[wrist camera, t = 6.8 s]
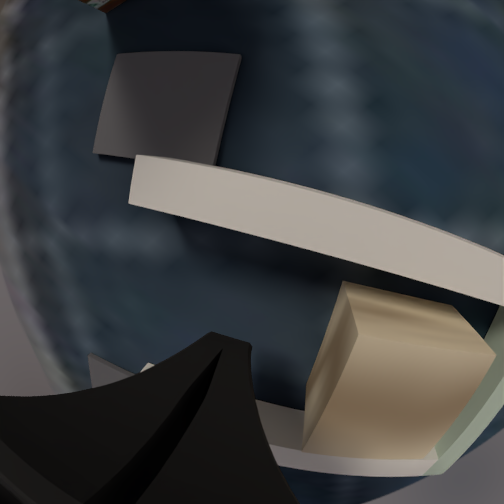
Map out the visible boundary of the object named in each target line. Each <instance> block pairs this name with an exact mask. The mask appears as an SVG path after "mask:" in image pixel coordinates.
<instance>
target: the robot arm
mask: <svg viewBox="0 0 504 504" xmlns="http://www.w3.org/2000/svg"><path fill="white" fill-rule="evenodd" d="M251 350H252V346H251V344H250V343H248V342H245V341H241V340H238V339H234V338H231V337H228V336H225V335H221V334H218V333H215V332H209V333H207V334H206V335H205V336H203V337H202V338H200V339H199V340H197V341H196V342H194V343H193V344H191V345H190V346H188V347H187V348H185V349H183V350H182V351H180V352H178V353H177V354H175V355H173V356H171V357H170V358H168V359H166V360H164V361H162V362H160V363H158V364H156V365H154V366H152V367H150V368H148V369H146V370H144V371H142V372H140V373H137V374H135V375H132V376H130V377H127V378H125V379H122V380H119V381H116V382H113V383H110V384H107V385H103V386H99V387H95V388H91V389H86V390H82V391H78V392H72V393H65V394H58V395H48V396H32V397H20V396H16V397H15V396H0V504H300V503H299V502H298V500H297V498H296V497H295V495H294V494H293V492H292V490H291V489H290V487H289V485H288V483H287V481H286V479H285V477H284V476H283V474H282V472H281V470H280V468H279V466H278V464H277V462H276V460H275V458H274V455H273V453H272V451H271V448H270V446H269V443H268V441H267V438H266V435H265V432H264V429H263V426H262V423H261V420H260V416H259V413H258V408H257V404H256V400H255V395H254V389H253V383H252V375H251Z"/></svg>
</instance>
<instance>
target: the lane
mask: <svg viewBox="0 0 504 504" xmlns="http://www.w3.org/2000/svg"><path fill="white" fill-rule="evenodd" d="M129 204H133V205H137V206H141V207H145V208H149V209H153V210H157V211H162V212H166V213H170V214H174V215H178V216H182V217H186V218H190V219H193V220H197V221H201V222H205V223H209V224H213V225H217V226H221V227H225V228H229V229H232V230H236V231H240V232H244V233H248V234H252V235H255V236H259V237H263V238H267V239H271V240H274V241H278V242H282V243H286V244H289V245H293V246H297V247H300V248H304V249H308V250H311V251H315V252H319V253H322V254H326V255H330V256H333V257H337V258H341V259H344V260H348V261H351V262H355V263H359V264H362V265H366V266H369V267H373V268H376V269H380V270H383V271H387V272H390V273H394V274H397V275H401V276H404V277H408V278H411V279H415V280H418V281H422V282H425V283H428V284H432V285H435V286H439V287H442V288H445V289H449V290H452V291H455V292H459V293H462V294H465V295H469V296H472V297H475V298H479V299H482V300H485V301H488V302H492V303H495V304H498V305H500V306H499V309H498V311H497V313H496V315H495V317H494V320H493V322H492V324H491V326H490V328H489V330H488V332H487V334H486V336H485V338H484V341H485V342H486V343H487V344H488V346H489V347H490V348H491V349H492V350H493V351H494V353H495V354H496V357H495V359H494V361H493V363H492V364H491V366H490V368H489V370H488V371H487V373H486V375H485V377H484V378H483V380H482V381H481V383H480V385H479V386H478V388H477V389H476V391H475V393H474V394H473V396H472V397H471V399H470V400H469V402H468V403H467V404H466V406H465V407H464V409H463V410H462V412H461V413H460V414H459V416H458V417H457V418H456V420H455V421H454V422H453V424H452V425H451V426H450V428H449V429H448V430H447V431H446V433H445V434H444V435H443V436H442V438H441V439H440V440H439V441H438V442H437V444H436V445H435V446H434V447H433V448H432V449H431V451H430V452H429V453H428V454H427V455H426V456H425V457H424V458H423V459H363V458H349V457H338V456H328V455H320V454H312V453H305V452H302V441H303V429H304V415H305V411H302V410H297V409H293V408H288V407H284V406H280V405H275V404H271V403H267V402H264V401H260V400H256V399H255V400H256V404H257V408H258V413H259V416H260V420H261V423H262V426H263V429H264V432H265V435H266V438H267V441H268V443H269V446H270V448H271V451H272V453H273V455H274V458H275V460H276V462H277V464H278V465H279V466H284V467H290V468H295V469H301V470H308V471H315V472H323V473H331V474H341V475H354V476H375V477H405V476H426V475H438V474H443V473H444V472H445V471H446V470H447V469H448V468H449V467H450V466H451V465H452V464H453V463H454V462H455V461H456V460H457V459H458V458H459V457H460V456H461V455H462V454H463V453H464V452H465V451H466V450H467V449H468V448H469V447H470V445H471V444H472V443H473V442H474V441H475V440H476V439H477V437H478V436H479V435H480V434H481V433H482V432H483V430H484V429H485V428H486V427H487V426H488V424H489V423H490V422H491V420H492V419H493V418H494V417H495V415H496V414H497V413H498V411H499V410H500V409H501V407H502V406H503V405H504V255H502V254H500V253H497V252H495V251H493V250H490V249H488V248H486V247H483V246H481V245H479V244H476V243H474V242H471V241H469V240H466V239H464V238H461V237H459V236H456V235H454V234H451V233H448V232H446V231H443V230H441V229H438V228H435V227H432V226H430V225H427V224H424V223H421V222H419V221H416V220H413V219H410V218H407V217H404V216H401V215H398V214H395V213H392V212H389V211H386V210H383V209H380V208H377V207H374V206H371V205H367V204H364V203H361V202H358V201H354V200H351V199H348V198H344V197H341V196H337V195H334V194H330V193H327V192H323V191H319V190H316V189H312V188H308V187H305V186H301V185H297V184H293V183H289V182H285V181H281V180H277V179H273V178H269V177H264V176H260V175H256V174H251V173H247V172H242V171H238V170H233V169H228V168H223V167H219V166H212V165H207V164H202V163H197V162H191V161H186V160H180V159H175V158H169V157H158V156H147V155H136V159H135V164H134V170H133V176H132V182H131V189H130V196H129ZM152 366H154V365H153V364H150V363H147V365H146V366H145V367H144V368H143V369H142V371H144V370H146V369H148V368H150V367H152ZM142 371H141V372H142Z"/></svg>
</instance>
